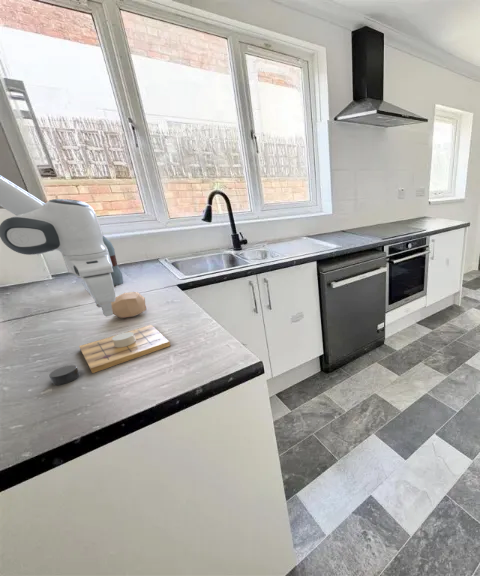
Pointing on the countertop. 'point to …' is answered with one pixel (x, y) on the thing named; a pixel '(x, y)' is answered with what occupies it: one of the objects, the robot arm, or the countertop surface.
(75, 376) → the black stone
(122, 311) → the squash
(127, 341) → the cream stone
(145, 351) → the board
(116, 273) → the bottle
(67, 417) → the countertop surface
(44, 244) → the robot arm
